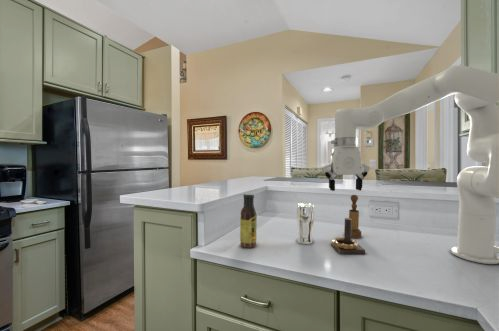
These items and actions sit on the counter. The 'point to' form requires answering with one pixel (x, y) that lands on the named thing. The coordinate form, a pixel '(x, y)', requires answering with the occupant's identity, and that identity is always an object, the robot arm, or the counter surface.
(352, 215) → the brown knobbed post
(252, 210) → the sauce bottle
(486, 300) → the counter surface
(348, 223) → the peg stand
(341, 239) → the ring
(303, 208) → the beer glass
